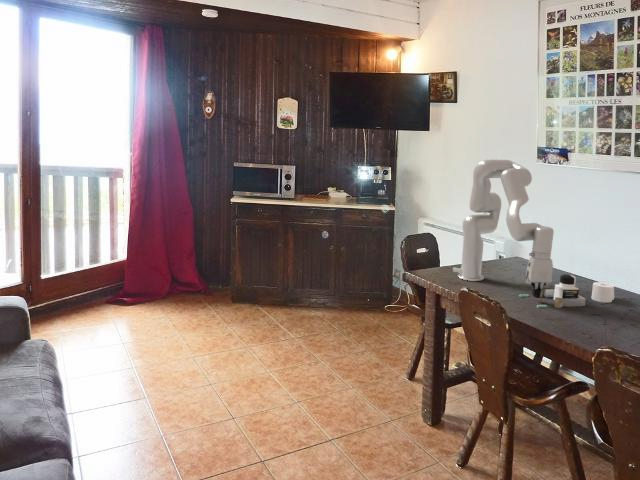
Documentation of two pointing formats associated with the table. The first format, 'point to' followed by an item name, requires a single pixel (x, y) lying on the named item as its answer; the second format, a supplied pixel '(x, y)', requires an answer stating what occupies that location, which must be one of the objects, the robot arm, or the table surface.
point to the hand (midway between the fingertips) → (536, 296)
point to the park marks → (537, 305)
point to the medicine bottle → (566, 287)
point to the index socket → (566, 299)
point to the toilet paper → (602, 292)
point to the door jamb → (556, 301)
